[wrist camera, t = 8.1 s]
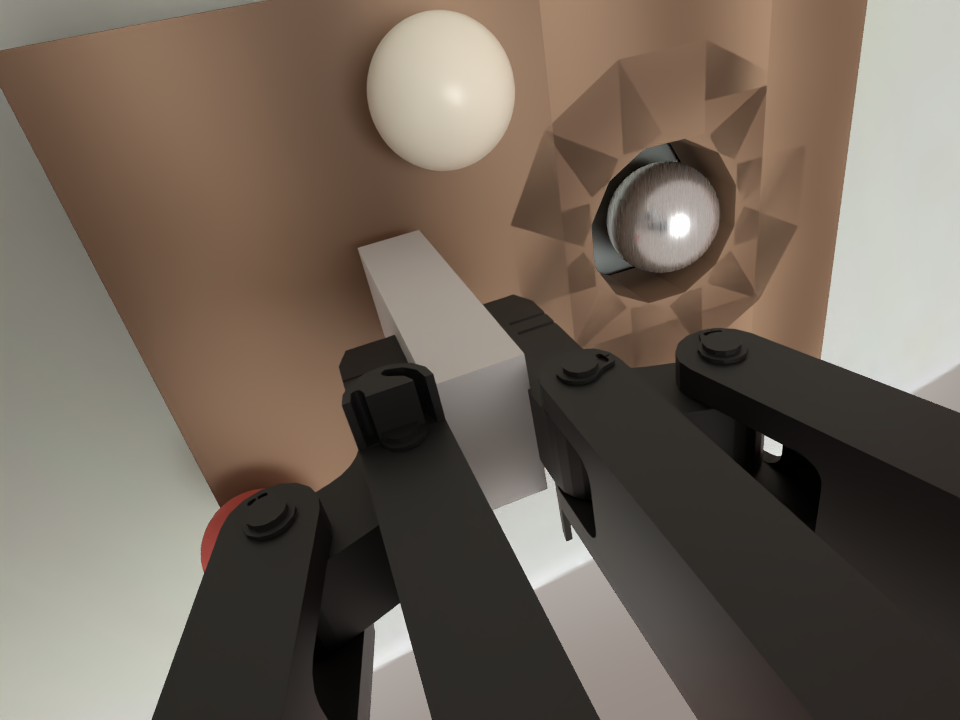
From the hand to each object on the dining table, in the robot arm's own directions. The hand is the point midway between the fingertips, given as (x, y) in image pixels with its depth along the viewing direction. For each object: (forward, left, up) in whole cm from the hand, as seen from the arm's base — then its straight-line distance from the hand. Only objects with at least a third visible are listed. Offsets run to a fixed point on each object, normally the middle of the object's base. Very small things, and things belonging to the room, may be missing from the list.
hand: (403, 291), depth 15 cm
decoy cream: (+2, +4, +1) cm, 5 cm away
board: (+4, -1, -3) cm, 5 cm away
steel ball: (+8, -1, -2) cm, 8 cm away
